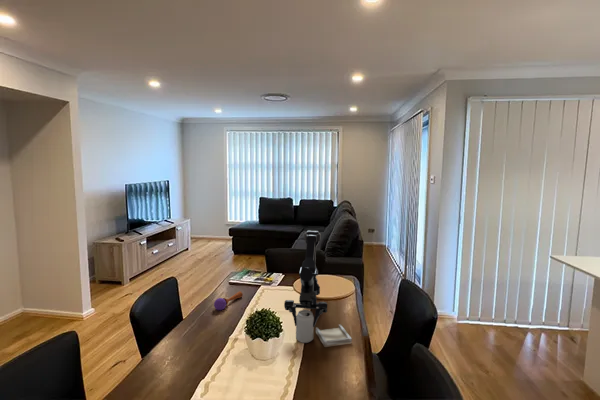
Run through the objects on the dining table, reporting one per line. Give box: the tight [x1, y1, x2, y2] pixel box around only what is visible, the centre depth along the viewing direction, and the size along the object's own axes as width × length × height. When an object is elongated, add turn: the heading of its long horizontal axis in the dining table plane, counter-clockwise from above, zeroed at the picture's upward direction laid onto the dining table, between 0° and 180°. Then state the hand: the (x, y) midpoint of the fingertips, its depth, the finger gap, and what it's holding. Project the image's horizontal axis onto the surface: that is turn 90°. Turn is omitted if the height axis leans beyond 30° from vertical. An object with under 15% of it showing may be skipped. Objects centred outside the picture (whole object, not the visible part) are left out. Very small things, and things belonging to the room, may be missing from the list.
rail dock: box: [315, 323, 353, 348], centre depth 140 cm, size 12×12×2 cm
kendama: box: [213, 290, 244, 311], centre depth 170 cm, size 6×6×20 cm
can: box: [295, 309, 315, 344], centre depth 138 cm, size 8×8×12 cm
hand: (304, 326), depth 136 cm, fingers closed on can, 7 cm apart
